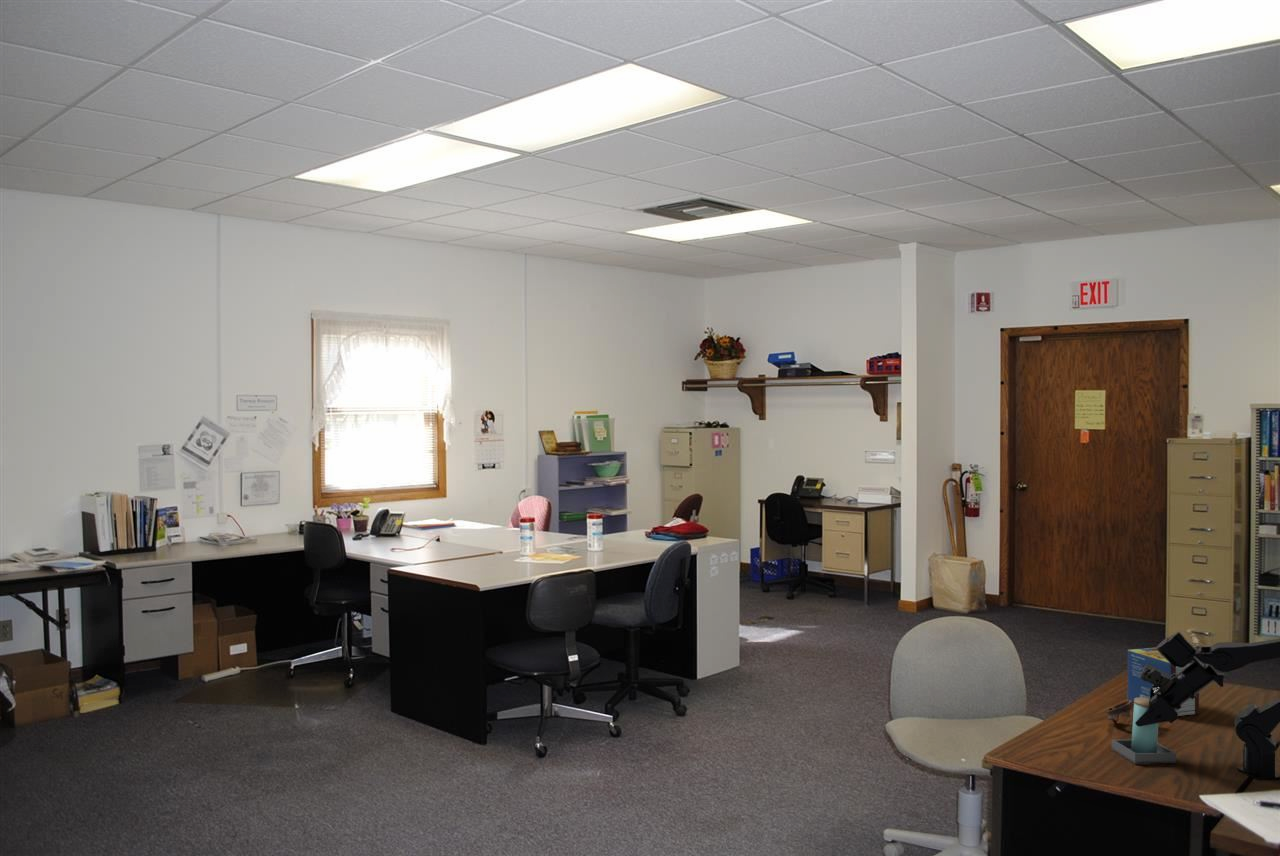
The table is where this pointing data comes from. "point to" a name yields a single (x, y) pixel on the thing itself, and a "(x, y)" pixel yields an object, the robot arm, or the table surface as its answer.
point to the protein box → (1142, 688)
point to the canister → (1143, 730)
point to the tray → (1141, 758)
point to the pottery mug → (1120, 710)
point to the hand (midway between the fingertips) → (1137, 721)
